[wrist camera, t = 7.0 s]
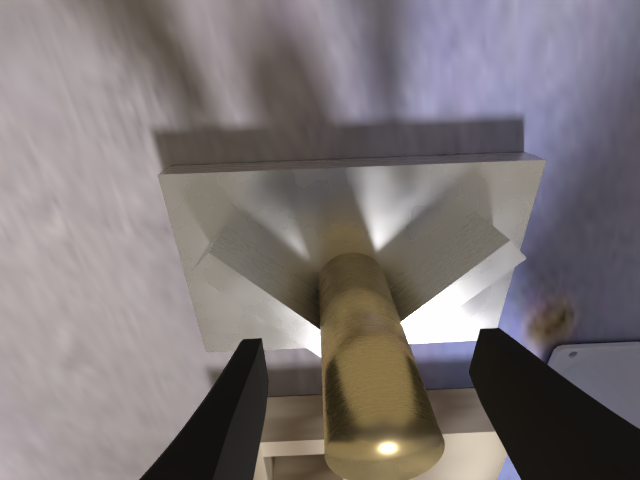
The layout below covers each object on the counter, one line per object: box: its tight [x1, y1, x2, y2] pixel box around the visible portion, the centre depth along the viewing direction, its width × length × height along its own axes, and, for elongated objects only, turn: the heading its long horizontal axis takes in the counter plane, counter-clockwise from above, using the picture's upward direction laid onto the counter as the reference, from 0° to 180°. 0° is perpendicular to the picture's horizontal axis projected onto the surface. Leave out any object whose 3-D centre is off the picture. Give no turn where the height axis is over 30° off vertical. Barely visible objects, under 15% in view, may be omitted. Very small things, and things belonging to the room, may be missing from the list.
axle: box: [319, 253, 445, 480], centre depth 12 cm, size 3×3×8 cm
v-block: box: [158, 152, 546, 357], centre depth 15 cm, size 16×10×4 cm, turn 92°
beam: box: [253, 388, 507, 480], centre depth 22 cm, size 18×8×3 cm, turn 92°
